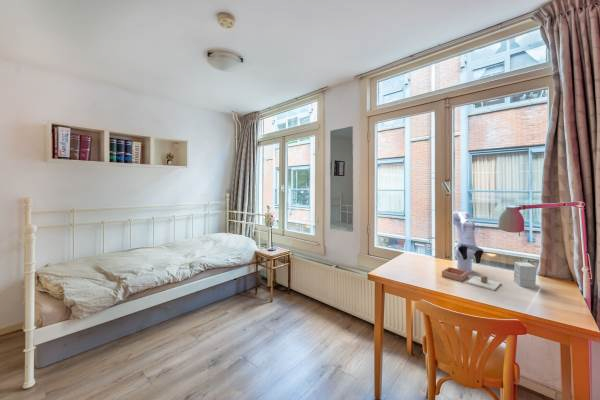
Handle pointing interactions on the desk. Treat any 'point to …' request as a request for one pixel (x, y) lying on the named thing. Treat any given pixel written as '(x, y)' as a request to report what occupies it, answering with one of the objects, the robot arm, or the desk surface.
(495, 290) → the mat
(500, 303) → the desk surface
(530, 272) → the supplement box
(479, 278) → the lid
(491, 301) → the desk surface
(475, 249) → the robot arm
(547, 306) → the desk surface
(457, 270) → the dish
